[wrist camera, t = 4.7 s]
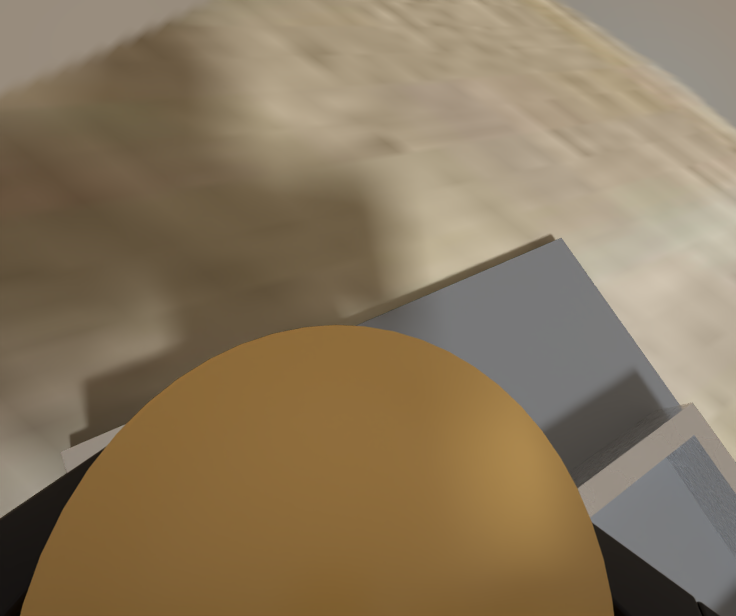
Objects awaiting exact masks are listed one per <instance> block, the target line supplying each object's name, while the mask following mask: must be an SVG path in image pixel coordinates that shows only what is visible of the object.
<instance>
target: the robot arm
mask: <svg viewBox="0 0 736 616" xmlns="http://www.w3.org/2000/svg"><path fill="white" fill-rule="evenodd" d="M105 448H106V447H104V448H103V449H102V450H100V451H99V452H97V453H96V454H94V455H93V456H91V457H90V458H88V459H87V460H85V461H84V462H82V463H81V464H79V465H78V466H77V467H75V468H74V469H72V470H71V471H69V472H68V473H66V474H65V475H63V476H62V477H60V478H59V479H57V480H56V481H55V482H53V483H52V484H50V485H49V486H47V487H46V488H44V489H43V490H41V491H40V492H38V493H37V494H35V495H34V496H32V497H31V498H30V499H28V500H27V501H25V502H24V503H22V504H21V505H19V506H18V507H16V508H15V509H13V510H12V511H10V512H9V513H7V514H6V515H5V516H3V517H2V518H0V616H20V614H21V610H22V606H23V603H24V600H25V597H26V594H27V592H28V589H29V586H30V583H31V580H32V578H33V575H34V572H35V569H36V566H37V564H38V561H39V558H40V555H41V553H42V551H43V549H44V547H45V545H46V543H47V541H48V539H49V537H50V535H51V533H52V531H53V529H54V527H55V525H56V523H57V520H58V518H59V516H60V514H61V512H62V510H63V508H64V507H65V505H66V504H67V502H68V501H69V499H70V497H71V496H72V494H73V493H74V491H75V490H76V488H77V486H78V485H79V483H80V482H81V480H82V478H83V477H84V475H85V474H86V472H87V471H88V469H89V468H90V466H91V465H92V464H93V463H94V461H95V460H96V459H97V458H98V456H99V455H100V454H101V453H102V451H103V450H104V449H105ZM592 524H593V527H594V530H595V534H596V537H597V540H598V543H599V546H600V549H601V553H602V556H603V559H604V563H605V568H606V573H607V577H608V582H609V587H610V591H611V596H612V603H613V611H614V616H720V615H719V614H717V613H716V612H714V611H713V610H712V609H710V608H709V607H708V606H706V605H705V604H704V603H702V602H700V601H698V602H696V599H695V598H694V596H692V595H691V594H690V593H688V592H687V591H686V590H684V589H683V588H681V587H680V586H679V585H677V584H676V583H675V582H673V581H672V580H670V579H669V578H668V577H666V576H665V575H664V574H662V573H661V572H659V571H658V570H657V569H655V568H654V567H653V566H651V565H650V564H649V563H647V562H646V561H644V560H643V559H642V558H640V557H639V556H638V555H636V554H635V553H633V552H632V551H631V550H629V549H628V548H627V547H625V546H624V545H622V544H621V543H620V542H618V541H617V540H616V539H614V538H613V537H611V536H610V535H609V534H607V533H606V532H605V531H603V530H602V529H601V528H599V527H598V526H596V525H595V524H594V523H592Z"/></svg>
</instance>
